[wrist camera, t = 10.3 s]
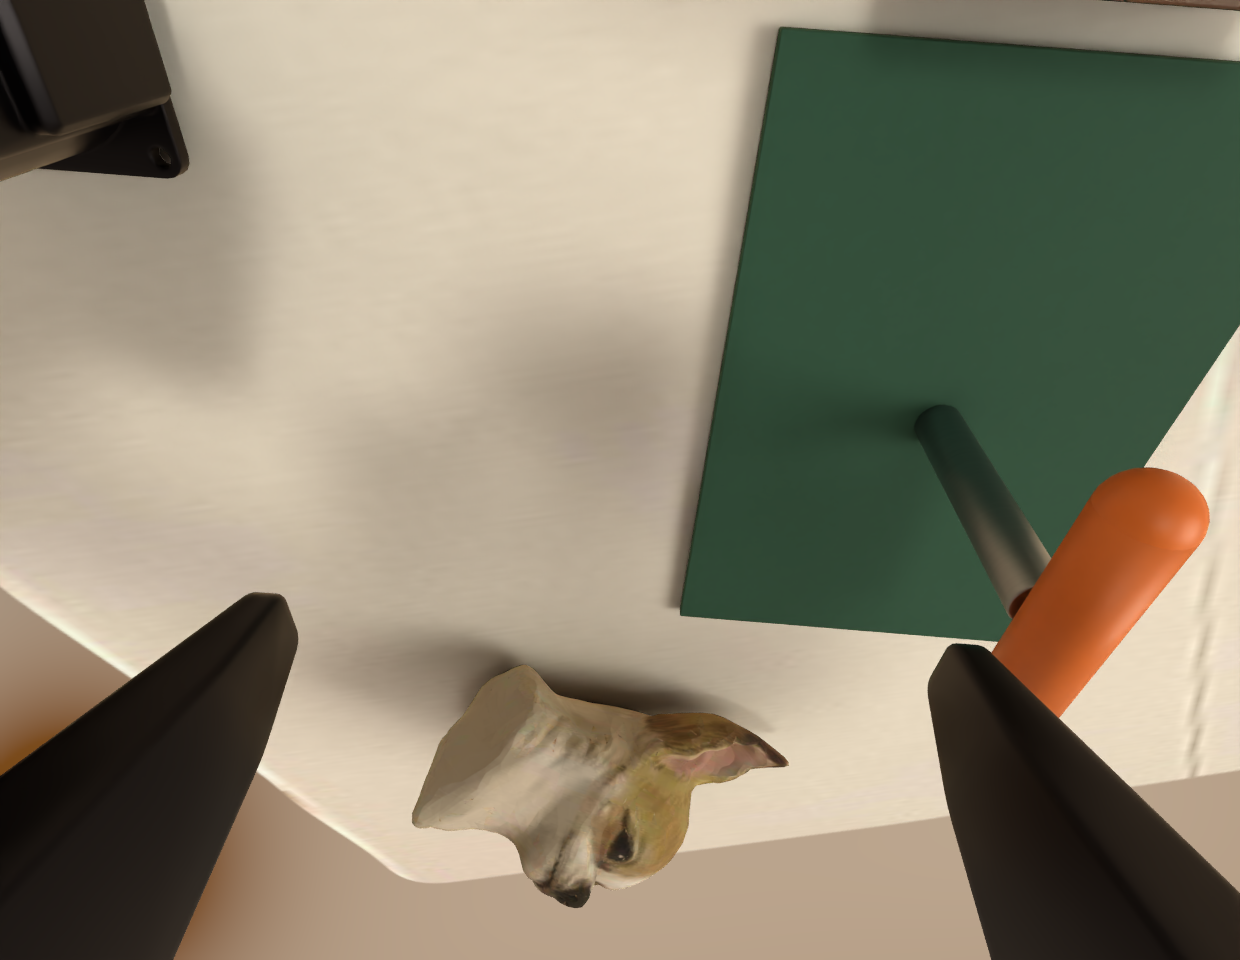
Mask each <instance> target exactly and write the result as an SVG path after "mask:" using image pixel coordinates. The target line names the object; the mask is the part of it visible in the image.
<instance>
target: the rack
mask: <svg viewBox="0 0 1240 960" xmlns="http://www.w3.org/2000/svg"><path fill="white" fill-rule="evenodd" d="M1104 1H1117V2H1130V3H1144V4H1157V5H1170V6H1183V7H1197V8H1210V9H1223V10H1236V11H1240V0H1104Z"/></svg>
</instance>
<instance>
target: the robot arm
mask: <svg viewBox="0 0 1240 960" xmlns="http://www.w3.org/2000/svg"><path fill="white" fill-rule="evenodd" d="M170 95H171V87H170V84H169V81H168V77H167V74H166V71H165V68H164V64H163V61H162V58H161V55H160V51H159V48H158V45H157V42H156V38H155V35H154V32H153V29H152V25H151V22H150V19H149V16H148V12H147V9H146V6H145V3H144V0H0V181H3V180H6V179H9V178H12V177H14V176H17V175H20V174H23V173H26V172H29V171H32V170H34V169H37V168H39V169H52V170H65V171H77V172H90V173H103V174H116V175H129V176H142V177H154V178H167V179H168V178H174V177H176V176H179V175H181V174H183V173H184V172H185V171H186V170H187V169H188V166H189V156H188V153H187V149H186V146H185V143H184V140H183V137H182V133H181V130H180V127H179V124H178V120H177V117H176V114H175V111H174V108H173V104H172V101H171V98H170ZM159 148H161V149H163V150H164V151H165V152H167V153H168V155H169V157H170V159H171V164H169V163H167V162H166V161H165V160H163V158H162V157H161V155H160V152H159ZM297 646H298V632H297V629H296V626H295V623H294V621H293V618H292V615H291V612H290V610H289V607H288V604H287V602H286V600H285V598H284V597H283V596H282V595H280V594H274V593H261V592H253V593H250V594H247V595H245V596H244V597H242V598H241V599H240V600H238V601H237V602H236V603H234V604H233V605H232V606H230V607H229V608H227V609H226V610H225V611H223V612H222V613H221V614H219V615H218V616H217V617H215V618H214V619H213V620H211V621H210V622H208V623H207V624H206V625H204V626H203V627H202V628H200V629H199V630H198V631H196V632H195V633H194V634H192V635H191V636H189V637H188V638H187V639H185V640H184V641H183V642H181V643H180V644H179V645H177V646H176V647H175V648H173V649H172V650H170V651H169V652H168V653H166V654H165V655H164V656H162V657H161V658H160V659H158V660H157V661H156V662H154V663H153V664H151V665H150V666H149V667H147V668H146V669H145V670H143V671H142V672H141V673H139V674H138V675H137V676H135V677H134V678H132V679H131V680H130V681H128V682H127V683H126V684H124V685H123V686H122V687H120V688H119V689H118V690H116V691H115V692H113V693H112V694H111V695H110V696H108V697H107V698H105V699H104V700H103V701H101V702H100V703H99V704H97V705H96V706H94V707H93V708H92V709H90V710H89V711H88V712H86V713H85V714H84V715H82V716H81V717H80V718H78V719H77V720H76V721H74V722H73V723H71V724H70V725H69V726H67V727H66V728H65V729H63V730H62V731H61V732H59V733H58V734H56V735H55V736H54V737H52V738H51V739H50V740H48V741H47V742H46V743H44V744H43V745H42V746H40V747H39V748H37V749H36V750H35V751H33V752H32V753H31V754H29V755H28V756H27V757H25V758H24V759H23V760H21V761H20V762H18V763H17V764H16V765H15V766H13V767H12V768H10V769H9V770H8V771H6V772H5V773H4V774H2V775H1V776H0V960H173V959H174V957H175V954H176V952H177V950H178V947H179V945H180V943H181V941H182V938H183V936H184V934H185V932H186V929H187V927H188V925H189V923H190V920H191V918H192V916H193V913H194V911H195V909H196V907H197V904H198V902H199V900H200V898H201V895H202V893H203V891H204V889H205V886H206V884H207V882H208V880H209V877H210V875H211V873H212V870H213V868H214V865H215V864H216V861H217V859H218V857H219V855H220V852H221V850H222V847H223V846H224V843H225V841H226V839H227V836H228V834H229V832H230V830H231V827H232V825H233V823H234V821H235V818H236V816H237V814H238V812H239V809H240V807H241V805H242V802H243V800H244V798H245V796H246V793H247V791H248V789H249V787H250V784H251V782H252V780H253V778H254V775H255V773H256V771H257V768H258V766H259V763H260V761H261V758H262V756H263V753H264V750H265V748H266V745H267V742H268V739H269V736H270V733H271V730H272V726H273V723H274V720H275V717H276V714H277V711H278V707H279V704H280V701H281V698H282V695H283V692H284V689H285V685H286V682H287V679H288V676H289V673H290V670H291V666H292V663H293V660H294V657H295V654H296V651H297ZM928 699H929V705H930V711H931V717H932V722H933V728H934V734H935V740H936V746H937V751H938V757H939V763H940V769H941V774H942V780H943V786H944V791H945V796H946V801H947V806H948V809H949V813H950V817H951V821H952V825H953V828H954V831H955V835H956V838H957V842H958V845H959V849H960V852H961V856H962V859H963V863H964V866H965V870H966V873H967V877H968V880H969V884H970V887H971V891H972V894H973V898H974V901H975V905H976V908H977V912H978V915H979V919H980V922H981V926H982V929H983V933H984V936H985V940H986V943H987V947H988V950H989V953H990V957H991V960H1240V893H1239V892H1238V891H1237V890H1236V889H1235V888H1234V887H1233V886H1232V885H1231V884H1230V883H1229V882H1228V881H1227V880H1226V879H1225V878H1224V877H1223V876H1222V875H1221V874H1220V873H1219V872H1218V871H1217V870H1216V869H1214V868H1213V867H1212V866H1211V865H1210V864H1209V863H1208V862H1207V861H1206V860H1205V859H1204V858H1203V857H1202V856H1201V855H1200V854H1199V853H1198V852H1197V851H1196V850H1195V849H1194V848H1193V847H1192V846H1191V845H1190V844H1188V842H1187V841H1185V840H1184V839H1183V838H1182V837H1181V836H1180V835H1179V834H1178V833H1177V832H1176V831H1175V830H1174V829H1173V828H1172V827H1171V826H1170V825H1169V824H1168V823H1167V822H1166V821H1165V820H1164V819H1163V818H1162V817H1161V816H1159V814H1158V813H1156V811H1154V810H1153V809H1152V808H1151V807H1150V806H1149V805H1148V804H1147V803H1146V802H1145V801H1144V800H1143V799H1142V798H1141V797H1140V796H1139V795H1138V794H1137V793H1136V792H1135V791H1134V790H1133V789H1132V788H1131V787H1130V786H1129V785H1128V784H1126V783H1125V782H1124V781H1123V780H1122V779H1121V778H1120V777H1119V776H1118V775H1117V774H1116V773H1115V772H1114V771H1113V770H1112V769H1111V768H1110V767H1109V766H1108V765H1107V764H1106V763H1105V762H1104V761H1103V760H1102V759H1101V758H1100V757H1099V756H1097V755H1096V754H1095V753H1094V752H1093V751H1092V750H1091V749H1090V748H1089V747H1088V746H1087V745H1086V744H1085V743H1084V742H1083V741H1082V740H1081V739H1080V738H1079V737H1078V736H1077V735H1076V734H1075V733H1074V732H1073V731H1072V730H1071V729H1070V728H1068V727H1067V726H1066V725H1065V724H1064V723H1063V722H1062V721H1061V720H1060V719H1059V718H1058V717H1057V716H1056V715H1055V714H1054V713H1053V712H1052V711H1051V710H1050V709H1049V708H1048V707H1047V706H1046V705H1045V704H1044V703H1043V702H1042V701H1041V700H1039V699H1038V698H1037V697H1036V696H1035V695H1034V694H1033V693H1032V692H1031V691H1030V690H1029V689H1028V688H1027V687H1026V686H1025V685H1024V684H1023V683H1022V682H1021V681H1020V680H1019V679H1018V678H1017V677H1016V676H1015V675H1014V674H1013V673H1011V672H1010V671H1009V670H1008V669H1007V668H1006V667H1005V666H1004V665H1003V664H1002V663H1001V662H1000V661H999V660H998V659H997V658H996V657H995V656H994V655H993V654H992V653H991V652H990V651H988V650H987V649H986V648H984V647H982V646H979V645H971V644H957V643H956V644H952V645H950V646H948V647H947V649H946V650H945V652H944V654H943V656H942V657H941V659H940V661H939V663H938V664H937V666H936V668H935V670H934V671H933V673H932V675H931V677H930V679H929V682H928Z"/></svg>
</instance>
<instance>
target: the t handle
mask: <svg viewBox="0 0 1240 960" xmlns="http://www.w3.org/2000/svg"><path fill="white" fill-rule="evenodd" d="M915 433H916V436H917V437H918V439H919V441H920V443H921V445H922V447H923V449H924V451H925V453H926V455H927V457H928V459H929V461H930V463H931V465H932V467H933V469H934V471H935V473H936V475H937V477H938V479H939V481H940V483H941V485H942V487H943V488H944V490H945V492H946V494H947V496H948V498H949V500H950V502H951V504H952V506H953V508H954V510H955V512H956V514H957V516H958V518H959V520H960V522H961V524H962V526H963V528H964V530H965V532H966V534H967V536H968V538H969V539H970V541H971V543H972V545H973V547H974V549H975V551H976V553H977V555H978V557H979V559H980V561H981V563H982V565H983V567H984V569H985V571H986V573H987V575H988V577H989V579H990V581H991V583H992V585H993V587H994V589H995V590H996V592H997V594H998V596H999V598H1000V600H1001V602H1002V604H1003V606H1004V608H1005V610H1006V612H1007V614H1008V616H1009V617H1010V618H1011V619H1013V620H1012V621H1011V623H1010V624H1009V626H1008V628H1007V629H1006V631H1005V632H1004V634H1003V635H1002V637H1001V639H1000V640H999V642H998V643H997V645H996V646H995V648H994V650H993V651H992V654H993V655H994V656H995V657H996V658H997V659H998V660H999V661H1000V662H1001V663H1002V664H1003V665H1004V666H1005V667H1006V668H1007V669H1008V670H1009V671H1010V672H1011V673H1013V674H1014V675H1015V676H1016V677H1017V678H1018V679H1019V680H1020V681H1021V682H1022V683H1023V684H1024V685H1025V686H1026V687H1027V688H1028V689H1029V690H1030V691H1031V692H1032V693H1033V694H1034V695H1035V696H1036V697H1037V698H1038V699H1039V700H1041V701H1042V702H1043V703H1044V704H1045V705H1046V706H1047V707H1048V708H1049V709H1050V710H1051V711H1052V712H1053V713H1054V714H1055V715H1056V716H1057V717H1058V718H1059V717H1060V716H1061V715H1062V714H1063V712H1064V711H1065V710H1066V709H1067V707H1068V706H1069V705H1070V704H1071V703H1072V701H1073V700H1074V699H1075V698H1076V696H1077V695H1078V694H1079V693H1080V691H1081V690H1082V689H1083V688H1084V686H1085V685H1086V684H1087V683H1088V682H1089V680H1090V679H1091V678H1092V677H1093V675H1094V674H1095V673H1096V672H1097V670H1098V669H1099V668H1100V667H1101V666H1102V664H1103V663H1104V662H1105V661H1106V659H1107V658H1108V657H1109V656H1110V654H1111V653H1112V652H1113V651H1114V649H1115V648H1116V647H1117V646H1118V645H1119V643H1120V642H1121V641H1122V640H1123V638H1124V637H1125V636H1126V635H1127V633H1128V632H1129V631H1130V630H1131V628H1132V627H1133V626H1134V625H1135V624H1136V622H1137V621H1138V620H1139V619H1140V617H1141V616H1142V615H1143V614H1144V612H1145V611H1146V610H1147V609H1148V608H1149V606H1150V605H1151V604H1152V603H1153V601H1154V600H1155V599H1156V598H1157V596H1158V595H1159V594H1160V593H1161V591H1162V590H1163V589H1164V588H1165V587H1166V585H1167V584H1168V583H1169V582H1170V580H1171V579H1172V578H1173V577H1174V575H1175V574H1176V573H1177V572H1178V570H1179V569H1180V568H1181V567H1182V566H1183V564H1184V563H1185V562H1186V561H1187V559H1188V558H1189V557H1190V556H1191V554H1192V553H1193V552H1194V551H1195V550H1196V548H1197V547H1198V546H1199V545H1200V543H1201V542H1202V540H1203V539H1204V537H1205V535H1206V533H1207V530H1208V526H1209V522H1210V519H1209V508H1208V506H1207V503H1206V500H1205V498H1204V496H1203V495H1202V494H1201V492H1200V491H1199V490H1198V489H1197V487H1196V486H1195V485H1193V484H1192V483H1191V482H1190V481H1188V480H1187V479H1185V478H1184V477H1182V476H1180V475H1178V474H1176V473H1173V472H1170V471H1167V470H1163V469H1158V468H1134V469H1129V470H1125V471H1122V472H1119V473H1117V474H1115V475H1113V476H1111V477H1109V478H1108V479H1107V480H1105V481H1104V482H1103V483H1101V484H1100V485H1099V486H1098V487H1097V488H1096V490H1095V491H1094V492H1093V494H1092V495H1091V497H1090V498H1089V500H1088V502H1087V503H1086V505H1085V506H1084V508H1083V509H1082V511H1081V513H1080V514H1079V516H1078V517H1077V519H1076V520H1075V522H1074V524H1073V525H1072V527H1071V528H1070V530H1069V531H1068V533H1067V535H1066V536H1065V538H1064V539H1063V541H1062V542H1061V544H1060V546H1059V547H1058V549H1057V550H1056V552H1055V553H1054V555H1053V557H1052V558H1051V557H1050V555H1049V554H1048V552H1047V551H1046V549H1045V547H1044V546H1043V544H1042V543H1041V541H1040V540H1039V538H1038V536H1037V535H1036V533H1035V532H1034V530H1033V528H1032V527H1031V525H1030V524H1029V522H1028V520H1027V519H1026V517H1025V516H1024V514H1023V512H1022V511H1021V509H1020V508H1019V506H1018V504H1017V503H1016V501H1015V500H1014V498H1013V497H1012V495H1011V493H1010V492H1009V490H1008V489H1007V487H1006V485H1005V484H1004V482H1003V481H1002V479H1001V477H1000V476H999V474H998V473H997V471H996V469H995V468H994V466H993V465H992V463H991V461H990V460H989V458H988V457H987V455H986V454H985V452H984V450H983V449H982V447H981V446H980V444H979V442H978V441H977V439H976V438H975V436H974V434H973V433H972V431H971V430H970V428H969V426H968V425H967V423H966V422H965V420H964V418H963V417H962V415H961V414H960V412H959V411H958V410H957V409H955V408H954V407H951V406H947V405H939V406H935V407H932V408H930V409H928V410H926V411H925V412H923V413H922V414H921V415H920V416H919V417H918V419H917V421H916V423H915Z"/></svg>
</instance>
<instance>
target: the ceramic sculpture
mask: <svg viewBox="0 0 1240 960" xmlns="http://www.w3.org/2000/svg"><path fill="white" fill-rule="evenodd" d="M785 766H789V764H788V761H787V760H786V759H785V757H784V756H782V755H781V754H780V753H779V752H777V751H776V750H775V749H774V748H772V747H771V746H770V745H769V744H767V743H766V742H765V741H764V740H762V739H761V738H760V737H758V736H757V735H755V734H753V733H752V732H750V731H748V730H747V729H745V728H743V727H741V726H739V725H737V724H735V723H733V722H731V721H729V720H727V719H725V718H723V717H721V716H718V715H715V714H709V713H673V714H657V715H654V716H650V715H647V714H644V713H640V712H637V711H633V710H628V709H624V708H619V707H614V706H609V705H603V704H595V703H589V702H585V701H582V700H578V699H573V698H568V697H563V696H560V695H557V694H556V693H554V692H553V691H552V690H551V689H550V688H549V687H548V685H547V684H546V683H545V682H544V681H543V679H542V678H541V677H540V676H539V674H538V673H537V672H536V671H535V670H534V669H533V668H531V667H529V666H527V665H520V666H517V667H515V668H512V669H511V670H509V671H507V672H506V673H503V674H500V675H497V676H495V677H493V678H491V679H490V680H489V681H488V682H486V683H485V684H484V685H483V686H482V687H481V688H480V690H479V692H478V693H477V695H476V696H475V698H474V699H473V701H472V702H471V704H470V706H469V707H468V709H467V710H466V712H465V713H464V715H463V716H462V717H461V718H460V719H459V720H458V721H457V722H456V723H455V724H454V725H453V726H452V727H451V728H450V729H449V731H448V733H447V734H446V735H445V736H444V737H443V738H442V740H441V742H440V743H439V745H438V748H437V751H436V754H435V756H434V759H433V762H432V764H431V767H430V770H429V772H428V775H427V777H426V779H425V782H424V785H423V787H422V790H421V793H420V796H419V798H418V801H417V803H416V805H415V808H414V810H413V813H412V823H413V824H414V826H415V827H417V828H429V827H432V828H436V829H442V830H445V831H455V830H466V829H479V830H486V831H490V832H494V833H498V834H501V835H503V836H504V837H506V838H508V839H509V840H510V841H512V842H513V843H514V845H515V846H516V848H517V850H518V853H519V855H520V860H521V864H522V868H523V871H524V873H525V874H526V875H527V877H528V878H530V879H531V880H532V881H533V883H534V884H535V886H536V887H537V888H538V889H539V890H540V891H541V892H542V893H544V894H546V895H548V896H550V897H553V898H555V899H556V900H557V901H559V902H560V903H562V904H563V905H566V906H568V907H573V908H579V907H582V906H583V905H584V904H585V903H586V902H587V900H588V899H589V896H590V893H591V890H592V888H593V886H594V885H601V886H602V887H604V888H606V889H609V890H619V889H624V888H628V887H630V886H632V885H635V884H637V883H639V882H642V881H644V880H645V879H647V878H649V877H651V876H652V875H654V874H655V873H656V872H658V871H659V870H661V869H662V868H664V867H665V866H666V865H667V864H668V863H669V862H670V861H671V859H672V858H673V856H674V855H675V854H676V852H677V851H678V849H679V848H680V846H681V845H682V843H683V840H684V837H685V834H686V831H687V828H688V825H689V809H690V800H691V792H692V790H693V789H694V787H695V786H697V785H701V784H706V783H713V782H714V783H722V782H726V781H730V780H734V779H736V778H737V777H739V776H741V775H743V774H745V773H746V772H748V771H749V770H750V769H755V768H766V767H785Z"/></svg>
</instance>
